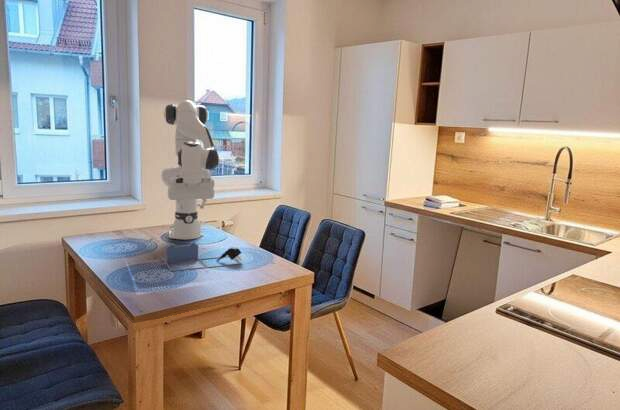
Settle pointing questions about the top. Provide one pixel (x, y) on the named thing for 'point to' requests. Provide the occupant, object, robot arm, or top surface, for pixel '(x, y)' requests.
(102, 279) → the top surface
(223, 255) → the power plug
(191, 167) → the robot arm
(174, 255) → the frame
